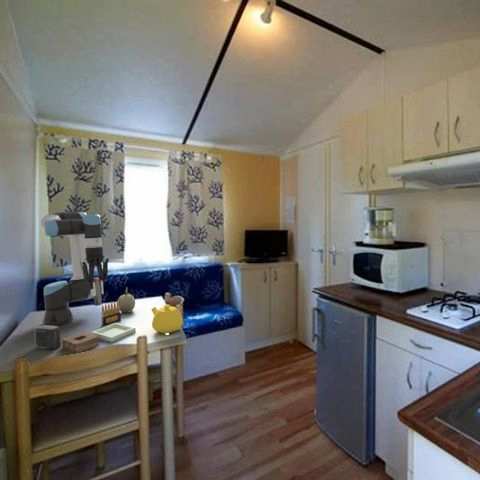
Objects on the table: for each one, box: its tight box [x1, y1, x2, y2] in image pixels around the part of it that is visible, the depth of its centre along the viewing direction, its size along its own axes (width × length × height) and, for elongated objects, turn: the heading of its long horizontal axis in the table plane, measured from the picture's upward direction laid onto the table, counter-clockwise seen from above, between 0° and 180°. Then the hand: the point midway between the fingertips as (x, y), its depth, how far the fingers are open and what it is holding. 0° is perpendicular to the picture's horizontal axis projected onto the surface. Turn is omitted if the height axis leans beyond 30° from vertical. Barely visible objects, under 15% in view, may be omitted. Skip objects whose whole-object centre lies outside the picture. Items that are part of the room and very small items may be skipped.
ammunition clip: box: [100, 300, 122, 327], centre depth 164 cm, size 11×2×12 cm, turn 144°
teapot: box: [151, 304, 184, 334], centre depth 150 cm, size 20×16×14 cm
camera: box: [33, 324, 62, 350], centre depth 134 cm, size 11×6×10 cm, turn 75°
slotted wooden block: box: [61, 331, 100, 354], centre depth 134 cm, size 12×10×4 cm
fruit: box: [117, 287, 136, 314], centre depth 182 cm, size 10×12×15 cm
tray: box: [90, 322, 137, 343], centre depth 147 cm, size 16×14×2 cm
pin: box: [93, 276, 103, 307], centre depth 140 cm, size 3×3×13 cm
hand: (97, 294), depth 140 cm, fingers closed on pin, 3 cm apart
